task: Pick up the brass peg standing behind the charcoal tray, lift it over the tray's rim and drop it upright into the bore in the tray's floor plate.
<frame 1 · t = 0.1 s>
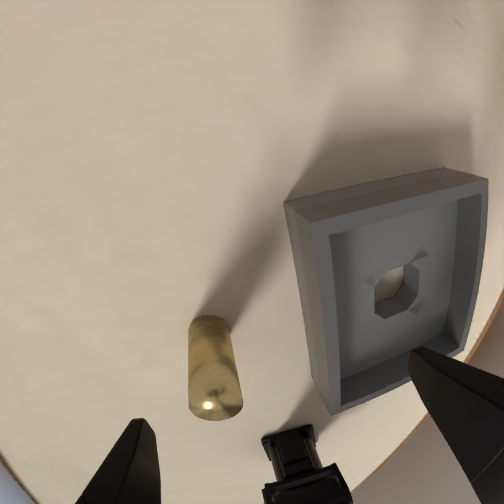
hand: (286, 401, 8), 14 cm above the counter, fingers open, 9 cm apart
brass peg: (208, 332, 24), on the counter
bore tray: (383, 279, 25), on the counter
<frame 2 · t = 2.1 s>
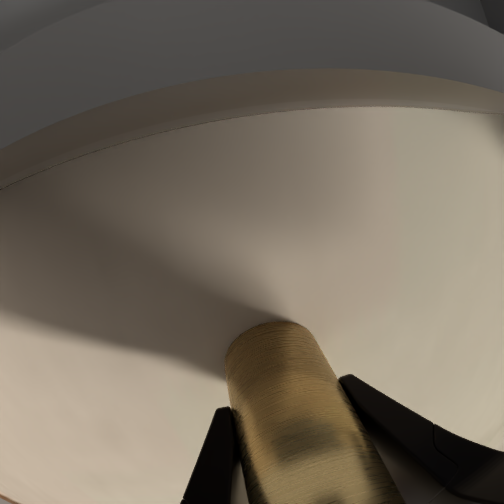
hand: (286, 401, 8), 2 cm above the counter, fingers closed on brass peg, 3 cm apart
brass peg: (272, 360, 10), on the counter, touching gripper
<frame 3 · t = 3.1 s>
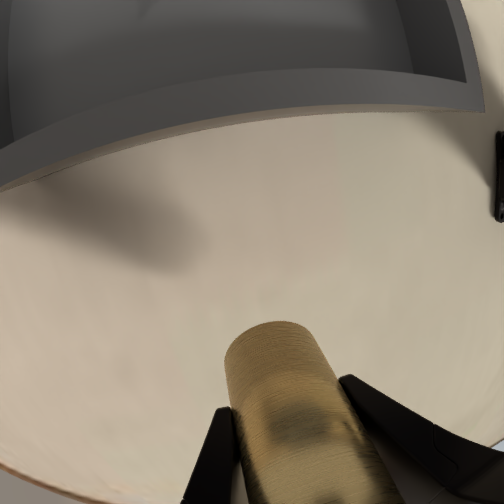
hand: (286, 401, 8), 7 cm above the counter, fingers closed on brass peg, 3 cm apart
brass peg: (271, 359, 10), point 5 cm above the counter, touching gripper
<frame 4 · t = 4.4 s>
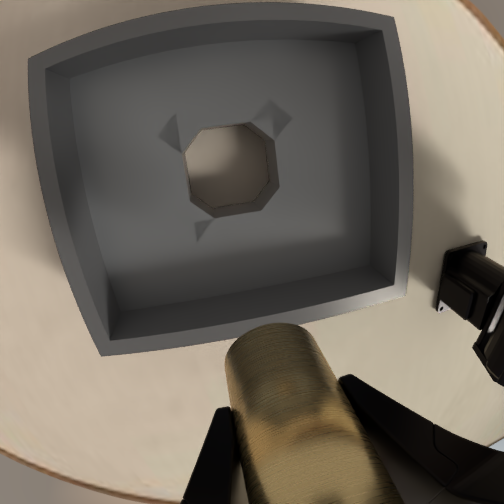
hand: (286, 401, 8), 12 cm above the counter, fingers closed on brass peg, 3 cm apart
brass peg: (272, 361, 10), point 10 cm above the counter, touching gripper
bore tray: (227, 166, 17), on the counter
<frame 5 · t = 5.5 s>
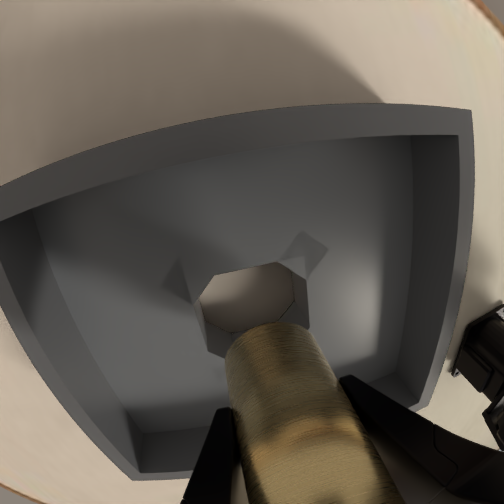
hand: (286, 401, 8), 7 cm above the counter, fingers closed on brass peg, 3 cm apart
brass peg: (272, 360, 10), point 5 cm above the counter, touching gripper
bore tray: (246, 290, 15), on the counter
when the fingers open (3 cm above the counter, at t = 6.6 s): brass peg drops 1 cm, resting in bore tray.
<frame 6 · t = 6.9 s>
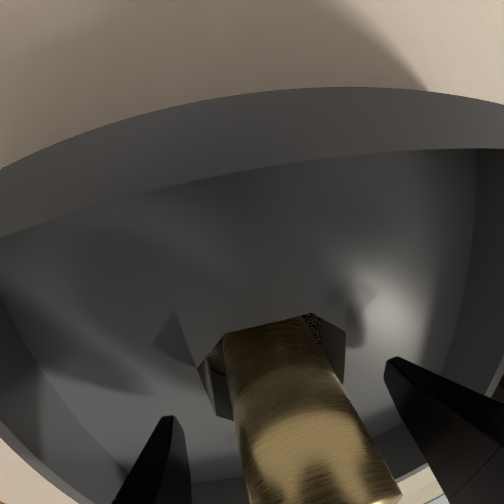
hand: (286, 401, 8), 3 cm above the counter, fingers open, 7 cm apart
brass peg: (264, 336, 12), resting in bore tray
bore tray: (263, 336, 12), on the counter
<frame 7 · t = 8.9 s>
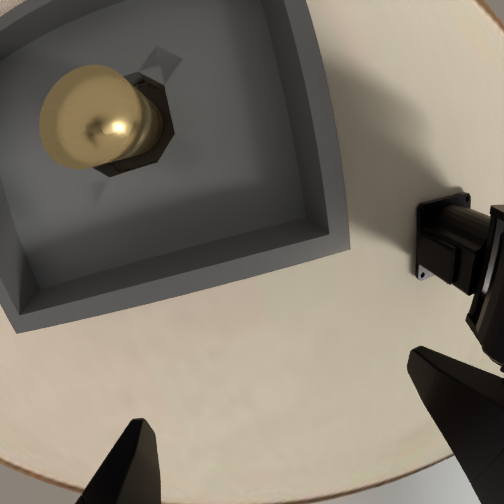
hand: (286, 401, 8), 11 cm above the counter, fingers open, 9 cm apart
brass peg: (133, 126, 15), resting in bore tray
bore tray: (132, 126, 15), on the counter
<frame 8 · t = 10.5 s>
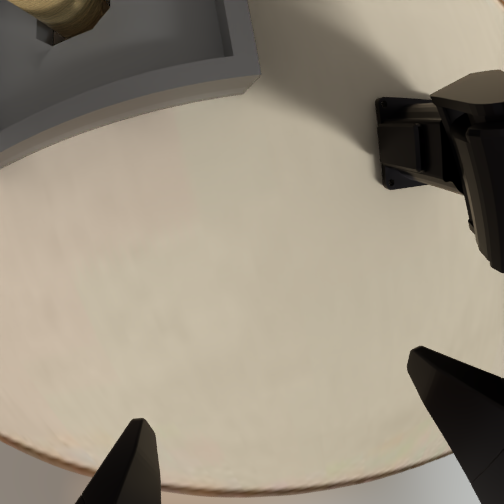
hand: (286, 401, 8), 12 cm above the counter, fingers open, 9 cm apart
brass peg: (85, 19, 12), resting in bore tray
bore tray: (84, 19, 12), on the counter
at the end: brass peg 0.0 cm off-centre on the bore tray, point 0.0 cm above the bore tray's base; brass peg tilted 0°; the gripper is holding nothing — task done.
